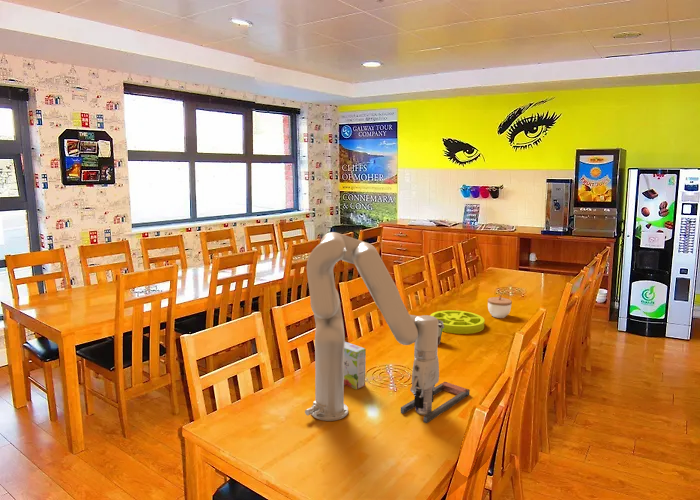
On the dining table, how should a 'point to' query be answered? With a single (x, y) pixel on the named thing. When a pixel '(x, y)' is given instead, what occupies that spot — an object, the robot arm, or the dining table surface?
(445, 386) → the guide track
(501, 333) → the dining table surface
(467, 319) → the pulley
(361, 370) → the snack box
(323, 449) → the dining table surface
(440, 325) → the food container
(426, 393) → the energy drink
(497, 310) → the lidded bowl
